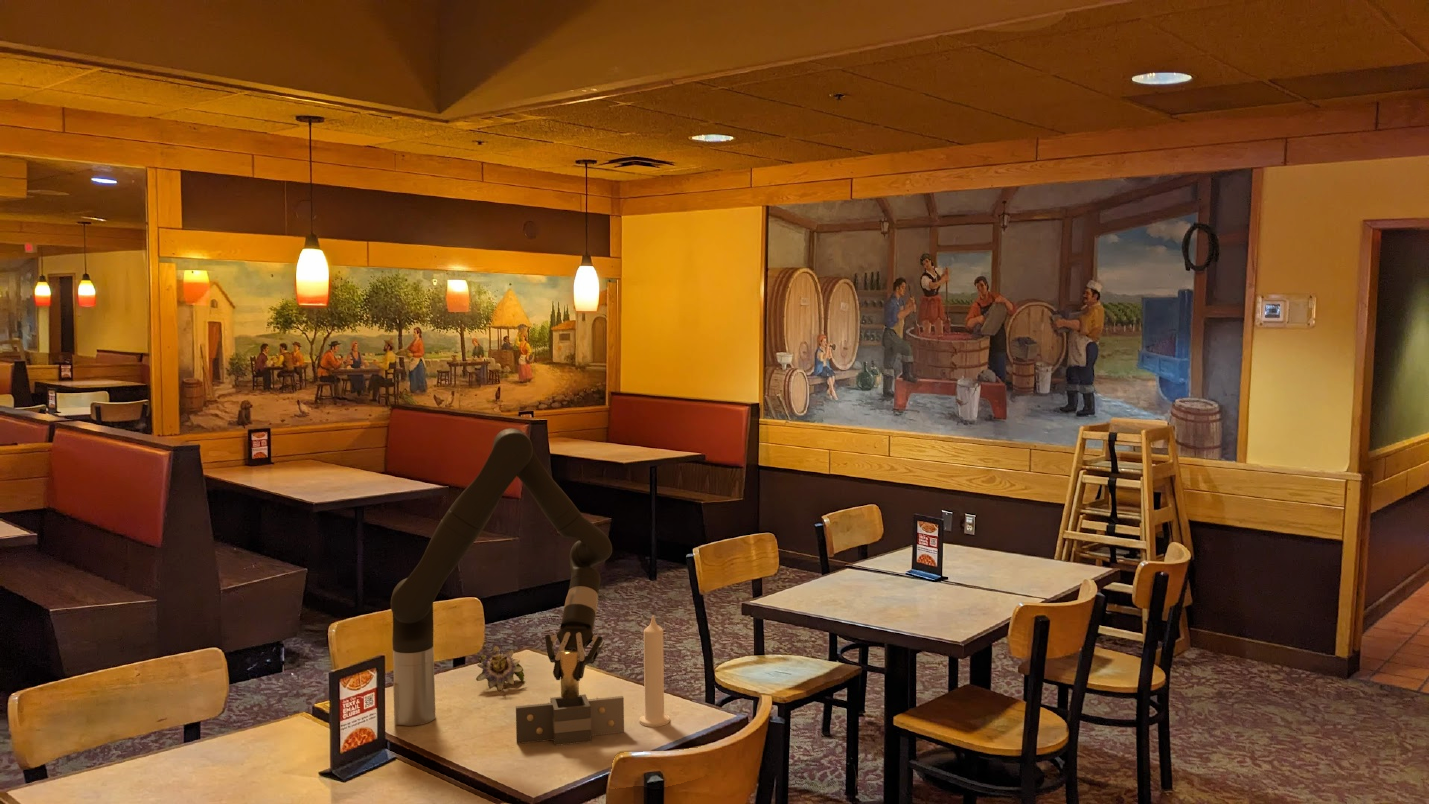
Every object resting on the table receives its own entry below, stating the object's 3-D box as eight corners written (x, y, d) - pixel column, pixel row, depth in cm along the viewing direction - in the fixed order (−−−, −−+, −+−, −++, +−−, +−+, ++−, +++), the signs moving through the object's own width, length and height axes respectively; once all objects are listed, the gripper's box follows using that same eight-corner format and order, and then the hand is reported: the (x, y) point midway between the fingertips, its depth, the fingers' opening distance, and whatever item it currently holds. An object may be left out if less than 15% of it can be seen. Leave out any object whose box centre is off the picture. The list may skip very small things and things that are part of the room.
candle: (675, 718, 251) (673, 613, 249) (660, 728, 244) (659, 621, 242) (648, 714, 254) (647, 610, 252) (633, 724, 247) (632, 618, 245)
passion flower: (500, 710, 272) (475, 680, 266) (488, 690, 281) (463, 660, 276) (536, 681, 275) (511, 651, 269) (523, 662, 284) (499, 632, 278)
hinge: (518, 749, 233) (517, 713, 232) (515, 735, 241) (514, 701, 240) (626, 737, 239) (626, 702, 239) (620, 724, 247) (620, 691, 246)
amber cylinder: (562, 699, 237) (561, 655, 236) (560, 693, 241) (559, 650, 240) (580, 697, 238) (579, 653, 237) (577, 691, 242) (576, 648, 241)
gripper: (546, 601, 246) (532, 670, 235) (607, 603, 244) (595, 672, 233) (553, 618, 252) (539, 685, 241) (612, 619, 250) (601, 687, 239)
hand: (567, 678), depth 237 cm, fingers closed on amber cylinder, 4 cm apart
